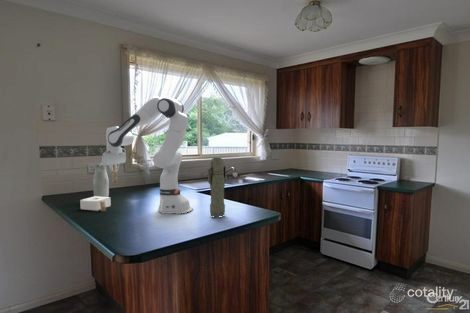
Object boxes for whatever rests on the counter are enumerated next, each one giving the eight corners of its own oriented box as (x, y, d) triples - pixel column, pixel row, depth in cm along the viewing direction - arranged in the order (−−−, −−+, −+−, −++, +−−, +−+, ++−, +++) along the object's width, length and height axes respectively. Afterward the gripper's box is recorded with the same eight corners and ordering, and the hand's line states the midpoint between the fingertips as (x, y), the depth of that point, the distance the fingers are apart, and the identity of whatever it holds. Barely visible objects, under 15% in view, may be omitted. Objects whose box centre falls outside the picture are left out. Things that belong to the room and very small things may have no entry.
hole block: (110, 205, 201) (110, 197, 200) (96, 210, 188) (96, 201, 188) (95, 204, 204) (94, 196, 204) (80, 209, 192) (80, 200, 191)
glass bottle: (91, 201, 213) (89, 163, 211) (100, 198, 223) (99, 162, 221) (102, 202, 210) (101, 164, 208) (111, 199, 220) (110, 162, 218)
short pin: (106, 210, 188) (106, 201, 188) (103, 211, 186) (103, 202, 185) (102, 210, 189) (102, 201, 189) (99, 211, 186) (99, 202, 186)
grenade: (205, 216, 174) (204, 158, 172) (220, 212, 182) (220, 157, 180) (214, 219, 168) (213, 159, 165) (229, 215, 176) (229, 157, 173)
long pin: (118, 181, 199) (117, 161, 198) (115, 182, 196) (114, 161, 195) (114, 181, 200) (113, 161, 198) (111, 182, 197) (110, 161, 196)
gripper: (106, 151, 185) (107, 172, 186) (127, 149, 205) (127, 169, 206) (98, 151, 187) (99, 172, 188) (119, 149, 207) (120, 169, 208)
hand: (114, 170), depth 197 cm, fingers closed on long pin, 3 cm apart
